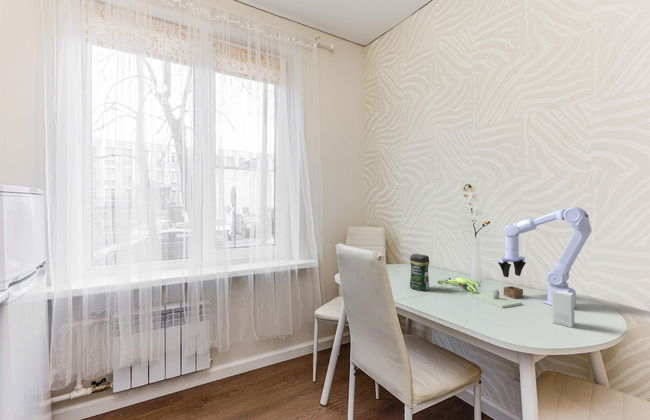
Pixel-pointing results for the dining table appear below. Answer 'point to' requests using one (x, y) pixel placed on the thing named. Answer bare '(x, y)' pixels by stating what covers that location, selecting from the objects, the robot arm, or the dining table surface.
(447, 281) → the figurine
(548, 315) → the dining table surface
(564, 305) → the skincare box
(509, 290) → the collar
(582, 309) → the dining table surface
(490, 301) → the board
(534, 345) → the dining table surface
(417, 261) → the coffee jar
